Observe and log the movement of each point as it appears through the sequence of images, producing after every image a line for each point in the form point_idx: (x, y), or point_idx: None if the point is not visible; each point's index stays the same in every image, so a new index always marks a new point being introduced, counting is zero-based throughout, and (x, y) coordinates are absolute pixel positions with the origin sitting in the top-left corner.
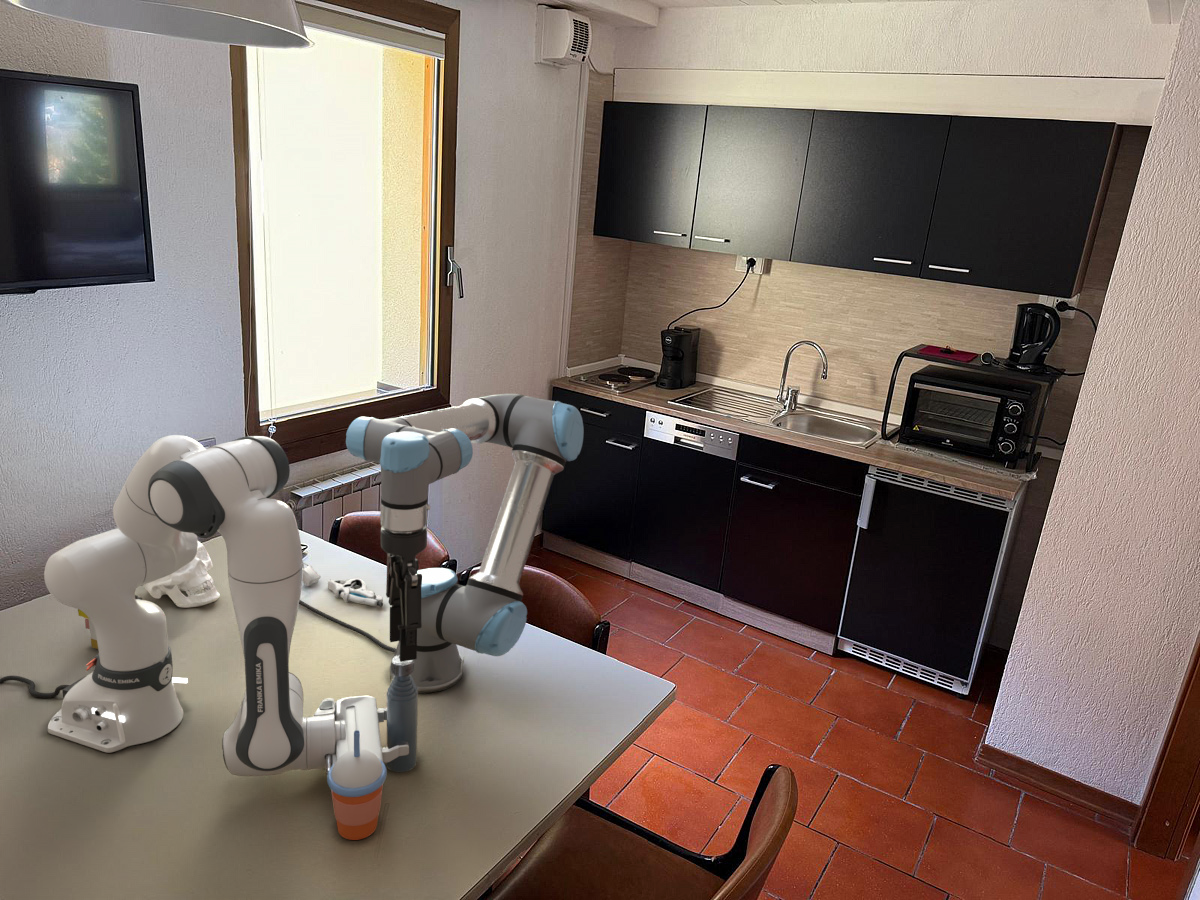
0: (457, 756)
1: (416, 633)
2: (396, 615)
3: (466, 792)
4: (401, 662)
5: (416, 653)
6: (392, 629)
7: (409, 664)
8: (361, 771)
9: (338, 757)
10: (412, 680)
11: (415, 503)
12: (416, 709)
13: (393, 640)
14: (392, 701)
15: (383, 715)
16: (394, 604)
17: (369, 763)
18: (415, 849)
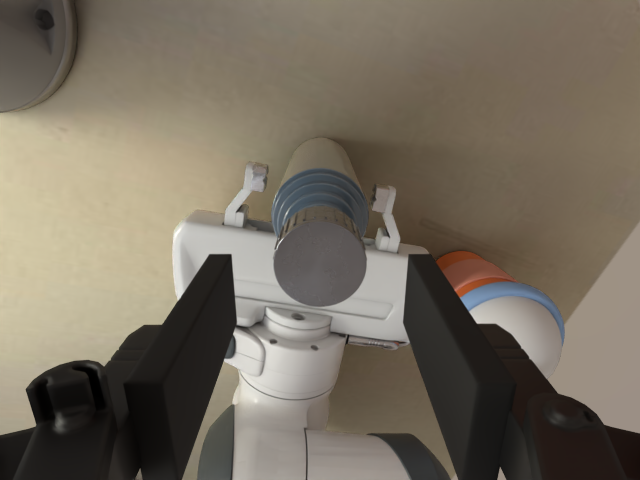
0: (345, 45)
1: (482, 337)
2: (194, 402)
3: (465, 67)
4: (339, 276)
5: (439, 267)
6: (220, 357)
7: (363, 248)
8: (557, 360)
9: (386, 338)
10: (327, 198)
11: None
12: (348, 169)
13: (235, 315)
14: None
15: (245, 211)
16: (131, 475)
17: (549, 345)
18: (553, 206)
